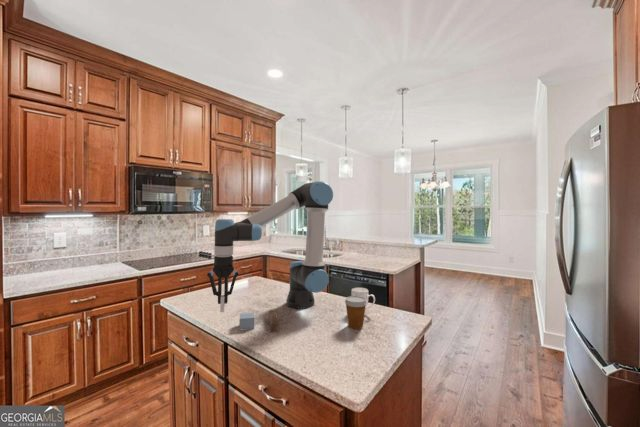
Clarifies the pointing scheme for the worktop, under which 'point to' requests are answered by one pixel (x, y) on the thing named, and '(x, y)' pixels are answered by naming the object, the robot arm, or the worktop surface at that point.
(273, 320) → the narrow bar
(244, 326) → the block
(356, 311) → the disposable coffee cup
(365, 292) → the mug
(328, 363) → the worktop surface
